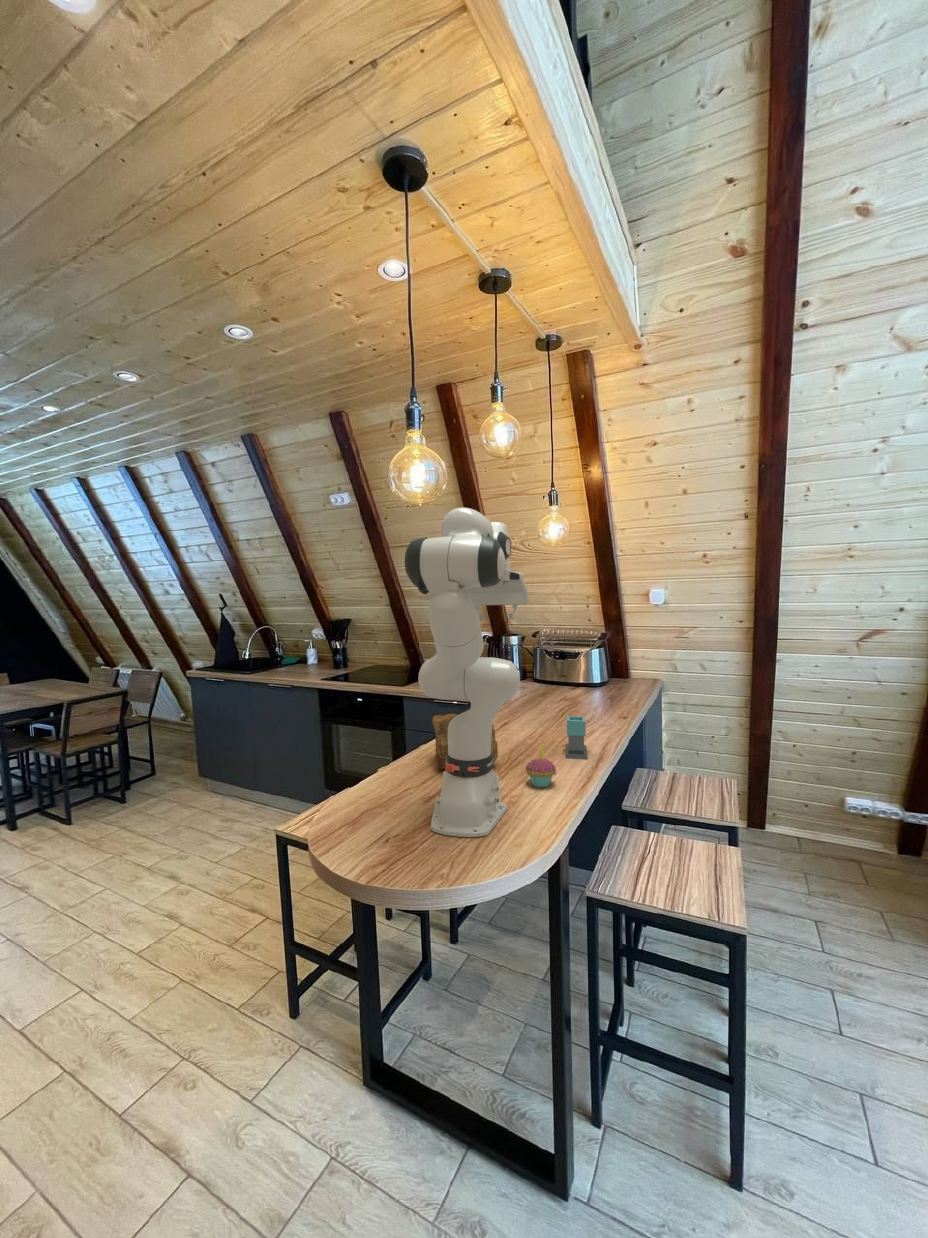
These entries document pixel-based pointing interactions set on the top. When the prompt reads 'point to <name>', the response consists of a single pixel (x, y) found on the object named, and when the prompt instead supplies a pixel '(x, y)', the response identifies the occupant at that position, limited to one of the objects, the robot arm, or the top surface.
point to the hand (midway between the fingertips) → (496, 619)
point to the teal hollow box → (576, 726)
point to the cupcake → (541, 771)
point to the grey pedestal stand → (576, 747)
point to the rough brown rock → (442, 739)
